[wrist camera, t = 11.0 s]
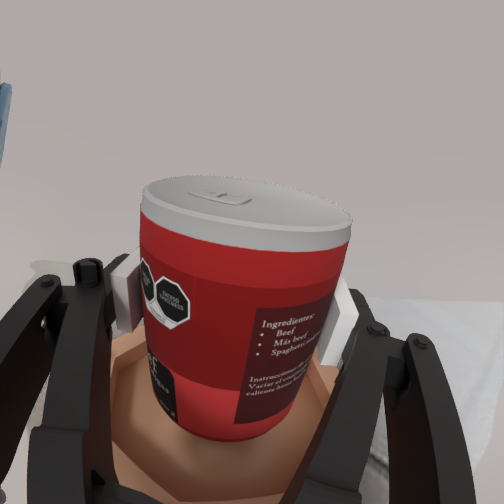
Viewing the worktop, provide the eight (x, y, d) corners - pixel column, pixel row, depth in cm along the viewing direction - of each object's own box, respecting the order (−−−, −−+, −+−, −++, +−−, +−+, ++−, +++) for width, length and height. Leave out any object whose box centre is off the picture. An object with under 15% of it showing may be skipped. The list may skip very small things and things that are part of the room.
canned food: (171, 337, 18) (176, 169, 14) (287, 355, 18) (329, 192, 14) (134, 428, 11) (96, 204, 7) (294, 453, 11) (388, 247, 7)
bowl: (48, 397, 13) (38, 378, 12) (206, 308, 25) (207, 290, 25) (254, 582, 5) (262, 584, 4) (372, 391, 18) (383, 374, 17)
